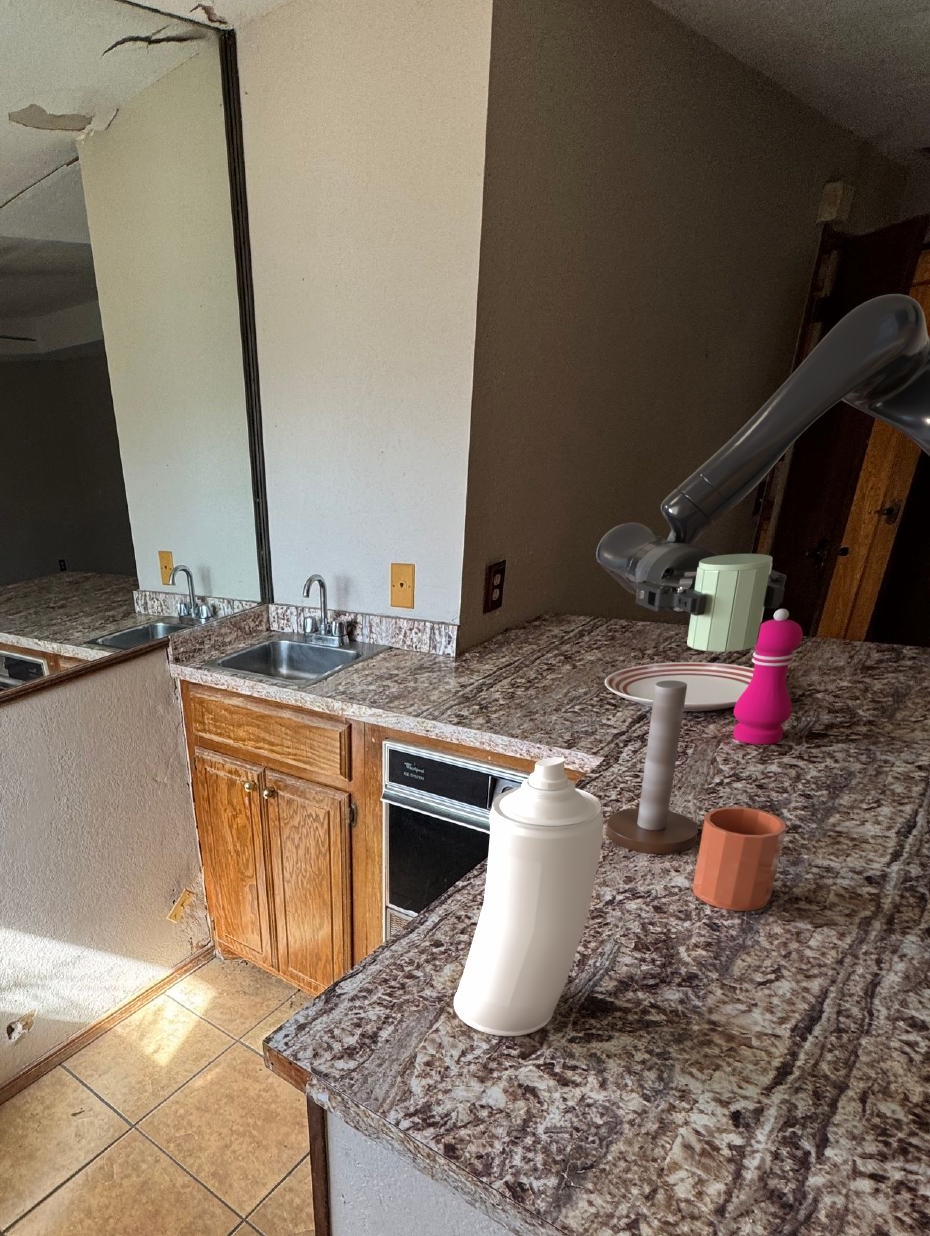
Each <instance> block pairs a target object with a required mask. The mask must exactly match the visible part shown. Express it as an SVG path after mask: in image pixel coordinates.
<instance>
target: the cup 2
mask: <svg viewBox="0 0 930 1236" xmlns="http://www.w3.org/2000/svg"><path fill="white" fill-rule="evenodd" d="M786 831H787V827H786V822H785V821H784V820H783V819H781V818H780V817H779V816H778V815H776V814H773V813H770V812H768V811H765V810H763V809H757V808H750V807H745V806H724V807H718V808H713V809H711V810H710V811H708V812H706V813H705V814H704V818H703V824H702V829H701V834H700V841H699V847H698V852H697V856H696V857H697V858H696V864H695V869H694V875H693V883H692V892H693V894H694V895H695V896H696V897H697V899H699V900H701V902H704V903H705V904H708V905H710V906H713V907H716V908H719V909H723V910H727V911H736V912H750V911H757V910H760V909H763V908H764V907H766V906H767V904H769V901H770V899H771V898H772V897H771V896H772V892H773V889H774V888H773V887H774V883H775V879H776V875H777V870H778V865H779V862H780V857H781V853H782V848H783V845H784V841H785V835H786Z"/></svg>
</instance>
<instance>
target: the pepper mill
mask: <svg viewBox="0 0 930 1236" xmlns="http://www.w3.org/2000/svg"><path fill="white" fill-rule="evenodd" d="M789 617H790V613H789V611H788V610H787V609H786V608H779V609H777V610H776V611H775V612H774V614H773V619H769V620H767V621H764V622H762V623H761V628H760V634H759V639H758V643H757V645H756V647H754V649H755V650H756V651H754V652H753V653H752V656H753V657H752V658H751V662H752V663H753V664H754V667H753V668H754V673H753V676H752V679H751V682H750V684H749V685H748V687H747V688H746V690H745V691H744V692H743V693H742V695H741V696H740V697H739V699H738V701H737V703H736V705H735V706H734V708H733V715H734V717H735V719H736V720H737V721H738V723H736V724H734V728H733V733H732V737H733V738H734V739H735V740H737V741H739V742H742V743H746V744H751V745H772V744H777V743H779V742H780V741H782V739H783V736H784V735H783V734H784V730H785V729H784V727H783V726H782V725H783V724H784V723H785V722H787V721H788V720H790V718H791V715H792V708H793V705H792V699H791V697H790V693H789V690H788V687H787V673H788V672H787V671H788V668H789V665H791V664H793V663H794V657H795V652H793V651H794V650H795V649H796V648H797V647H799V646H800V644H801V643H802V640H803V636H804V635H803V633H804V632H803V629H802V627H801V625H800V624H799V623H798V622H796V621H794V620H791V619H788V618H789Z"/></svg>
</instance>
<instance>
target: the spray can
mask: <svg viewBox="0 0 930 1236" xmlns="http://www.w3.org/2000/svg"><path fill="white" fill-rule="evenodd" d="M602 808H603V807H602V804H601V802H600V800H599V799H598V798H597V797H596V796H595V795H593V794H592V793H589V792H587V791H585V790H582V789H580V788H576V784H575V782H573V781H572V780H570V779H569V776H568V775H567V774H566V773H565V758H564V757H559V756H552V757H546V758H543V759H539V760H537V761H536V762H535V764H534V771H533V772H531V773H530V774H529V777H528V778H526V779H524V780H523V781H522V783H521V786H518V787H514V788H511V789H508V790H505V791H504V792H502V793H500V794H499V795H497V796H496V797H495V798H494V799H493V801H492V806H491V809H490V811H489V817H488V818H489V842H488V843H489V844H488V855H487V869H486V877H485V878H486V879H485V887H484V897H483V903H482V907H481V911H480V914H479V918H478V920H477V923H476V928H475V932H474V935H473V939H472V942H471V946H470V949H469V952H468V956H467V959H466V962H465V966H464V969H463V973H462V976H461V979H460V982H459V985H458V988H457V991H456V993H455V995H454V998H453V1008H454V1011H455V1013H456V1014H457V1016H458V1018H459V1019H460V1020H461V1021H462V1022H463V1023H465V1024H466V1025H467V1026H469V1027H471V1028H473V1029H474V1030H476V1031H479V1032H481V1033H484V1034H488V1035H491V1036H498V1037H520V1036H524V1035H525V1036H526V1035H529V1034H533V1033H535V1032H537V1031H539V1030H541V1029H542V1028H544V1027H545V1026H546V1025H547V1024H548V1023H549V1022H550V1021H551V1019H552V1018H553V1015H554V1012H555V1009H556V1007H557V1005H558V1003H559V1001H560V999H561V996H562V994H563V993H564V992H563V991H564V990H565V987H566V984H567V981H568V979H569V976H570V973H571V969H572V966H573V964H574V960H575V958H576V954H577V951H578V948H579V946H580V942H581V939H582V937H583V933H584V930H585V927H586V925H587V921H588V918H589V913H590V908H591V903H592V897H593V892H594V887H595V882H596V878H597V872H598V866H599V861H600V856H601V851H602V846H603V840H604V839H603V838H604V836H603V835H604V815H603V812H602Z"/></svg>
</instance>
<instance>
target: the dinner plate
mask: <svg viewBox="0 0 930 1236" xmlns="http://www.w3.org/2000/svg"><path fill="white" fill-rule="evenodd" d="M753 673H754V667H749V666H743V665H738V664H729V663H721V662H702V661H701V662H700V661H698V662H695V661H685V662H683V661H682V662H681V661H679V662H678V661H677V662H676V661H675V662H661V663H660V662H659V663H651V664H644V665H636V666H632V667H628V668H623V669H620V670H617V671H615V672H613V673H611V674H609V675H608V676H607V677H606V678H605V679H604V685H605V687H606V688H607V689H608V690H609V691H610V692H612V693H614V694H615V695H617V696H619V697H621V698H622V699H623V698H624V699H625V700H628V701H631V702H634V703H638V704H640V705H644V706H647V707H651V708H652V706H653V698H654V690H655V684H656V683H657V682H660V681H667V680H675V681H682V682H685V683H686V684H687V690H686V697H685V704H684V710H683V712H708V711H719V710H724V709H729V708H733V707H734V708H735V705H736V703H737V701H738V699H739V697H740V696H741V695H742V693H743V692H744V691H745V690H746V688H747V687H748V685H749V684H750V682H751V679H752V676H753Z"/></svg>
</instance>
